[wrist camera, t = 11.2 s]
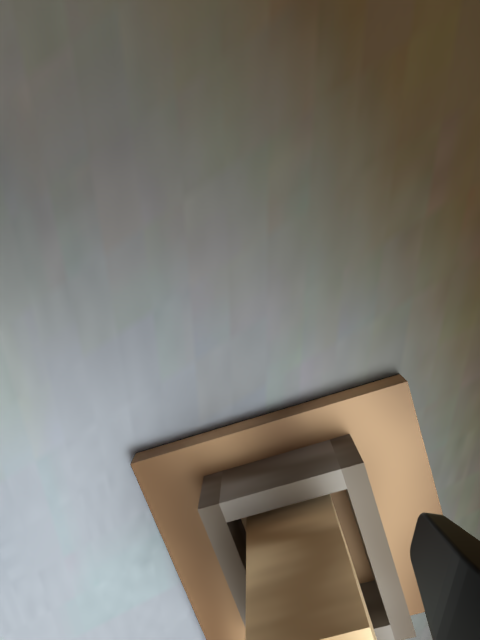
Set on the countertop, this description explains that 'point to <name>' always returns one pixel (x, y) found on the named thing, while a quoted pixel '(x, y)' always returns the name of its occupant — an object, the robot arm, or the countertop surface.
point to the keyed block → (302, 576)
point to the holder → (297, 498)
